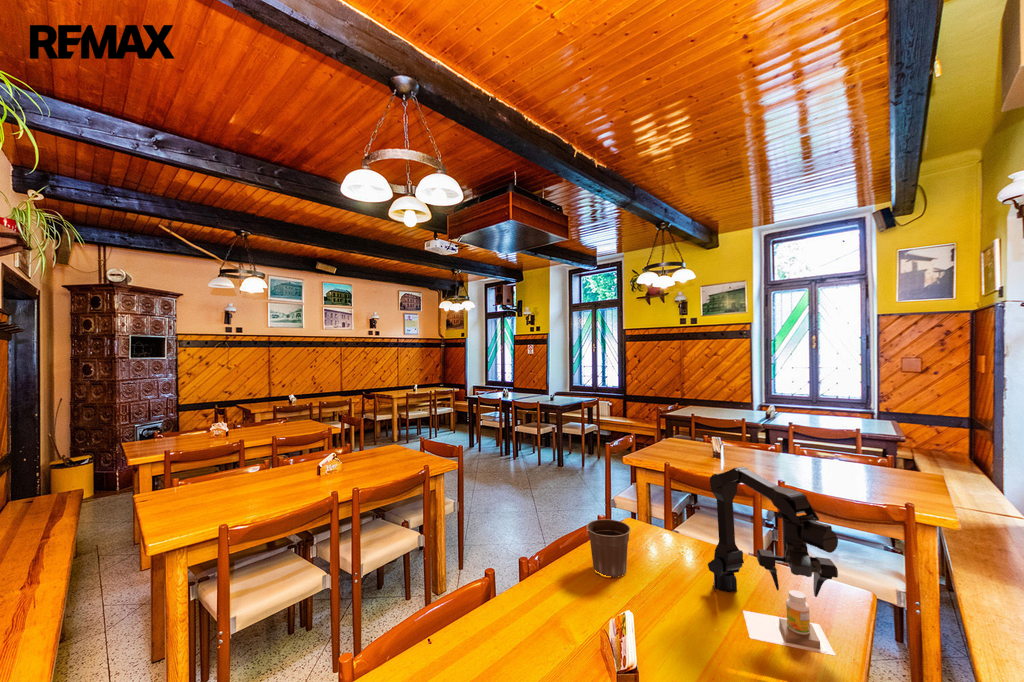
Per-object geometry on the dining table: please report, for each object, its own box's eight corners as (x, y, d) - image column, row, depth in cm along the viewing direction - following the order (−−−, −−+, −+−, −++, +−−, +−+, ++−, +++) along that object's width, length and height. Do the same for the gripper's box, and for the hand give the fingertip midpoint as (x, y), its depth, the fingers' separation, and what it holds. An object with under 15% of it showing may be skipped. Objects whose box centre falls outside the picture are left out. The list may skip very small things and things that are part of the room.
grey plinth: (785, 642, 117) (785, 634, 117) (779, 625, 124) (779, 618, 125) (820, 649, 114) (820, 641, 114) (811, 631, 122) (811, 624, 122)
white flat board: (749, 641, 119) (749, 637, 119) (742, 612, 132) (742, 610, 132) (836, 658, 112) (835, 655, 112) (819, 627, 125) (819, 623, 125)
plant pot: (580, 574, 157) (579, 530, 157) (596, 556, 170) (595, 516, 171) (624, 586, 148) (622, 539, 149) (636, 566, 162) (635, 523, 162)
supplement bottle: (782, 623, 122) (781, 589, 122) (800, 622, 122) (798, 588, 123) (796, 636, 117) (795, 599, 117) (815, 634, 117) (813, 598, 117)
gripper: (762, 544, 117) (763, 601, 117) (844, 555, 110) (846, 616, 110) (755, 528, 128) (757, 581, 127) (830, 537, 121) (832, 593, 120)
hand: (796, 593), depth 121 cm, fingers open, 9 cm apart
